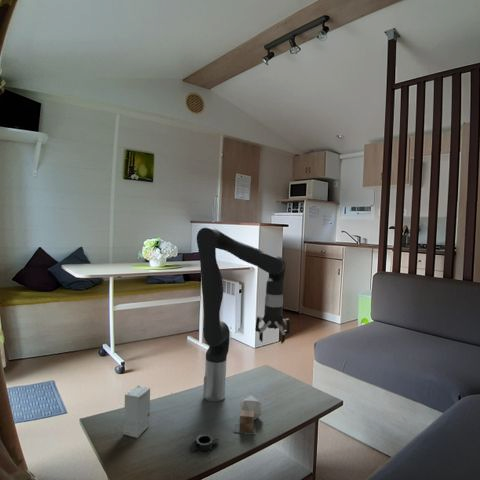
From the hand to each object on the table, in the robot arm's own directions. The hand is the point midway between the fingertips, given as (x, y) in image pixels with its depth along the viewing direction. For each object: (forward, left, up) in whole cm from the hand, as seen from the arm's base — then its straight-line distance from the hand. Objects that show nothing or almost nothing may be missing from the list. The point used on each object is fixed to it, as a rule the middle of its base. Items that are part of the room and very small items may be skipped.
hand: (271, 342), depth 147 cm
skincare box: (-48, -25, -28) cm, 61 cm away
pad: (-9, -18, -28) cm, 34 cm away
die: (-7, -10, -28) cm, 31 cm away
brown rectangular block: (-8, -18, -28) cm, 34 cm away
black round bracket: (-22, -30, -29) cm, 47 cm away
